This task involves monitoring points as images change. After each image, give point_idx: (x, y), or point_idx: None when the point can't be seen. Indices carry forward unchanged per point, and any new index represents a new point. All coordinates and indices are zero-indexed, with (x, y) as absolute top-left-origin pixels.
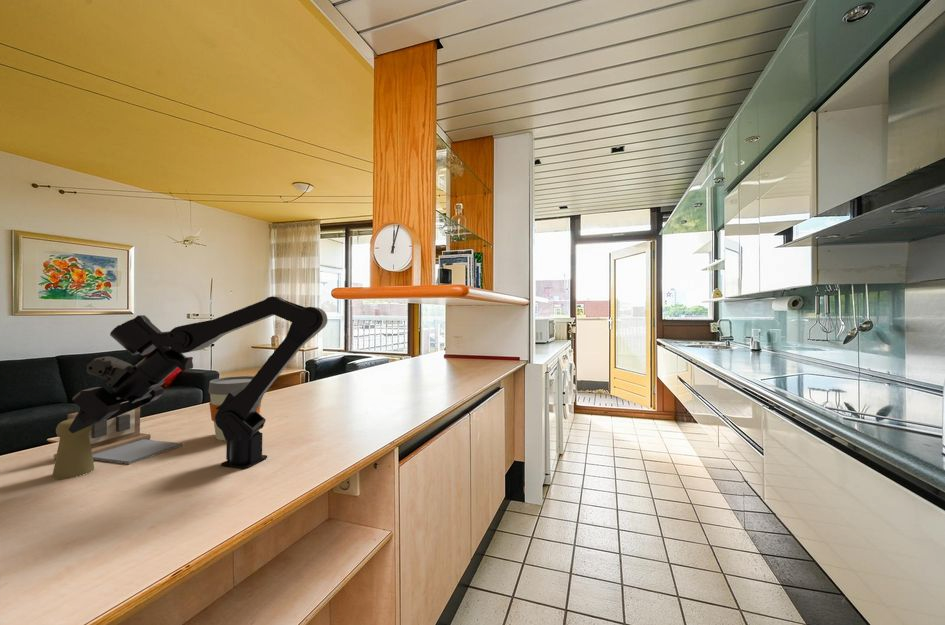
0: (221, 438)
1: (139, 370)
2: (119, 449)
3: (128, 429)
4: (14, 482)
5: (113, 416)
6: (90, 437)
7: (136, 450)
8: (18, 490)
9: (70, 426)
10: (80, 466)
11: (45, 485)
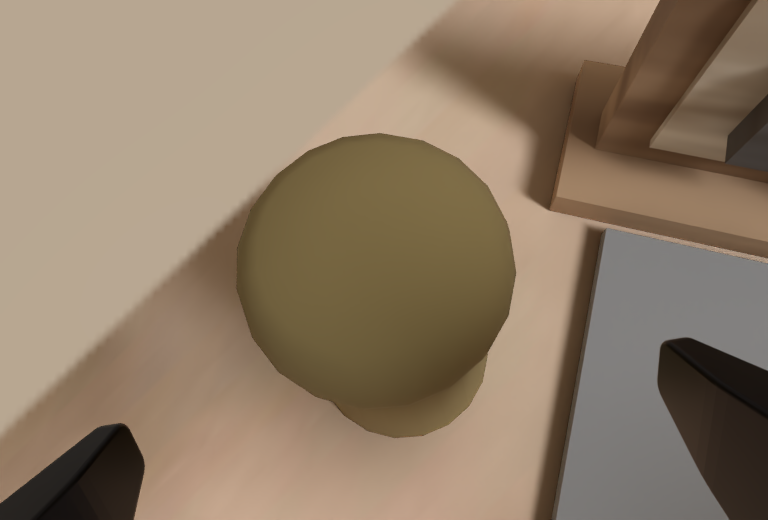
0: None
1: None
2: (751, 319)
3: None
4: None
5: (699, 461)
6: (725, 130)
7: None
8: (202, 284)
9: (57, 464)
10: (357, 417)
11: (245, 355)
